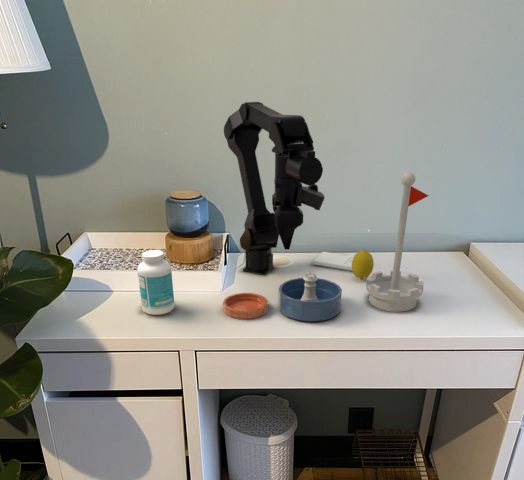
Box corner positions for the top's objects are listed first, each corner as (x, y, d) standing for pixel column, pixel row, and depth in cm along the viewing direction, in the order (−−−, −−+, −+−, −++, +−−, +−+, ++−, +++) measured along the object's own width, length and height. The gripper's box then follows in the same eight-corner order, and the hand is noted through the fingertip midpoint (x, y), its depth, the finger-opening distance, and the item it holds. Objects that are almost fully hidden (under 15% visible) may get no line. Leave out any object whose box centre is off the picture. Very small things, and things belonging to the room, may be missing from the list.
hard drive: (322, 256, 160) (365, 262, 155) (312, 265, 153) (356, 272, 149) (323, 250, 159) (365, 257, 155) (313, 259, 153) (357, 266, 148)
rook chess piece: (318, 303, 130) (320, 271, 126) (318, 311, 126) (320, 278, 122) (299, 302, 131) (301, 270, 127) (299, 310, 127) (300, 277, 123)
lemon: (358, 285, 141) (361, 255, 137) (346, 277, 146) (348, 248, 142) (376, 281, 144) (379, 251, 140) (363, 274, 148) (366, 245, 144)
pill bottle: (180, 305, 130) (176, 249, 124) (165, 318, 124) (160, 260, 118) (151, 300, 132) (146, 246, 126) (136, 313, 126) (129, 256, 120)
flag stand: (375, 315, 126) (390, 180, 111) (357, 292, 137) (369, 166, 122) (429, 311, 128) (451, 178, 113) (408, 289, 139) (425, 165, 124)
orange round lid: (215, 313, 126) (214, 305, 125) (237, 297, 134) (236, 289, 133) (254, 323, 122) (254, 314, 121) (275, 305, 130) (275, 297, 129)
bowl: (268, 314, 126) (268, 294, 123) (293, 292, 137) (294, 273, 135) (327, 328, 120) (328, 307, 118) (348, 303, 131) (350, 284, 129)
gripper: (328, 185, 117) (324, 256, 125) (318, 167, 134) (315, 231, 141) (275, 185, 117) (274, 256, 125) (272, 167, 133) (271, 231, 141)
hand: (285, 242), depth 133 cm, fingers open, 9 cm apart
